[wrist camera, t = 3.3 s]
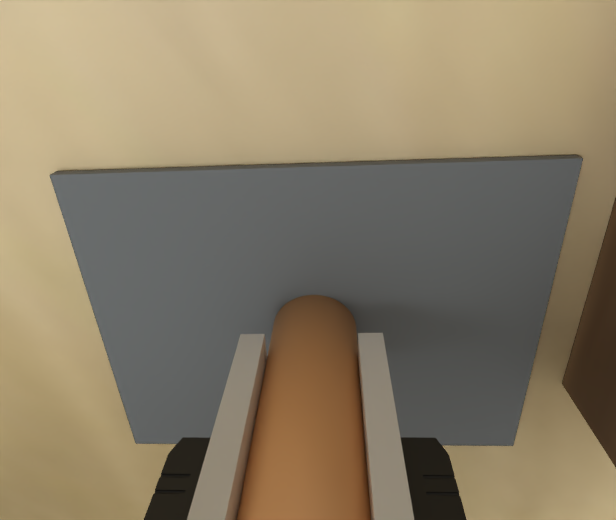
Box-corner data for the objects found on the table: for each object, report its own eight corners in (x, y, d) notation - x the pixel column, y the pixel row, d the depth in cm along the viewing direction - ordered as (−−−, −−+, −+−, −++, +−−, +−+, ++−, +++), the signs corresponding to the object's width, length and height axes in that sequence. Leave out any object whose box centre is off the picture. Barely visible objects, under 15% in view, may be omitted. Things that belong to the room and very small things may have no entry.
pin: (276, 362, 17) (187, 924, 6) (270, 295, 16) (141, 871, 5) (355, 362, 17) (399, 939, 6) (356, 294, 15) (414, 889, 5)
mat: (139, 435, 20) (135, 443, 19) (56, 171, 14) (49, 174, 14) (509, 437, 19) (513, 445, 19) (576, 154, 13) (583, 158, 13)
